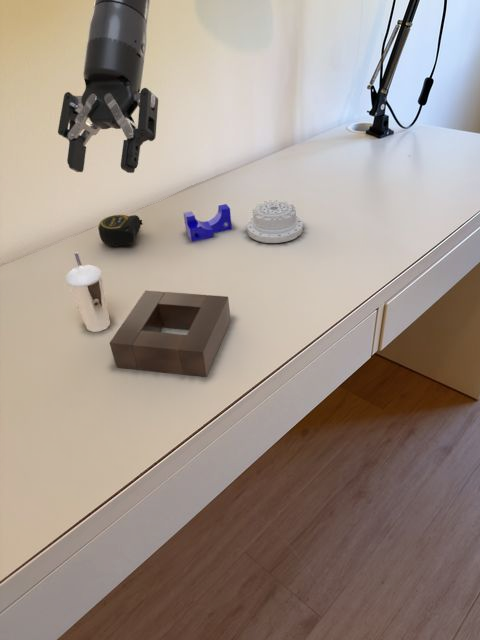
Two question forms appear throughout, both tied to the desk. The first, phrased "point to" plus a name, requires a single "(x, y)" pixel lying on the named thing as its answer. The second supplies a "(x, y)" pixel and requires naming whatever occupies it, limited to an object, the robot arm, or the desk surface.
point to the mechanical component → (274, 222)
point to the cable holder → (207, 224)
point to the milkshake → (89, 295)
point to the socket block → (166, 348)
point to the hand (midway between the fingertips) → (101, 170)
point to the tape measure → (119, 229)
